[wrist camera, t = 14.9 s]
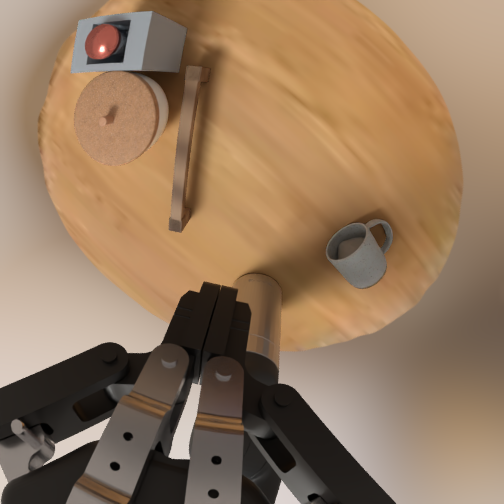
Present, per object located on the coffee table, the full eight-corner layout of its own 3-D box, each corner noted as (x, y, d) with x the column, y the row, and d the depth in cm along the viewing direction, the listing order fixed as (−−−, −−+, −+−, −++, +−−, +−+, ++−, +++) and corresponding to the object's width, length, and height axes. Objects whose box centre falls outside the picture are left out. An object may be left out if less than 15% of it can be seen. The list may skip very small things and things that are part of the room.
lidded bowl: (94, 111, 38) (51, 123, 29) (147, 54, 33) (107, 49, 24) (140, 165, 43) (104, 190, 33) (198, 113, 38) (170, 123, 28)
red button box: (178, 72, 34) (141, 70, 24) (118, 71, 34) (70, 73, 24) (188, 23, 30) (154, 4, 20) (126, 25, 30) (80, 14, 20)
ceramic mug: (348, 273, 49) (357, 302, 43) (321, 241, 47) (328, 268, 40) (398, 239, 45) (414, 264, 38) (374, 203, 42) (390, 225, 36)
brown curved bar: (189, 219, 47) (181, 232, 43) (177, 217, 47) (168, 230, 43) (210, 68, 34) (202, 66, 30) (196, 67, 34) (186, 65, 30)
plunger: (136, 59, 27) (112, 58, 22) (108, 60, 27) (82, 60, 22) (142, 28, 25) (119, 22, 20) (113, 30, 25) (88, 26, 20)
